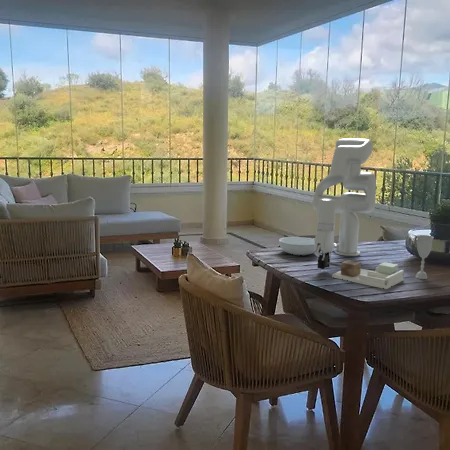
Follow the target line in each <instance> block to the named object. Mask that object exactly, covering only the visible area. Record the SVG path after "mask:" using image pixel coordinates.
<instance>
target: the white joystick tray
mask: <svg viewBox="0 0 450 450" xmlns="http://www.w3.org/2000/svg"><path fill="white" fill-rule="evenodd" d="M404 271H405V270H404V269H400V270H399V264H397V263H392V262H386V261H384V262H381V263H380V264H378V266H377V267H375V271H374V270H369V269H365V268H364V269H363V268H361V270H360V274H359V275H357V276H354V277H353V276H348V275H343V274H341V270H339V271H336V272H335V273H332V278H333V277H334V278H335V279H339V280H342V279H343V280H344V281H347V280H348V281H347V282H351V281H352V283H357V284H362V285H366V286H370V287H375V288H380V289H383V288H384V290H388V289H390V288H392V287H393V286H395V285H397V284H400V283H402V282H403V281H404V273H405V272H404ZM391 286H392V287H391Z"/></svg>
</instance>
